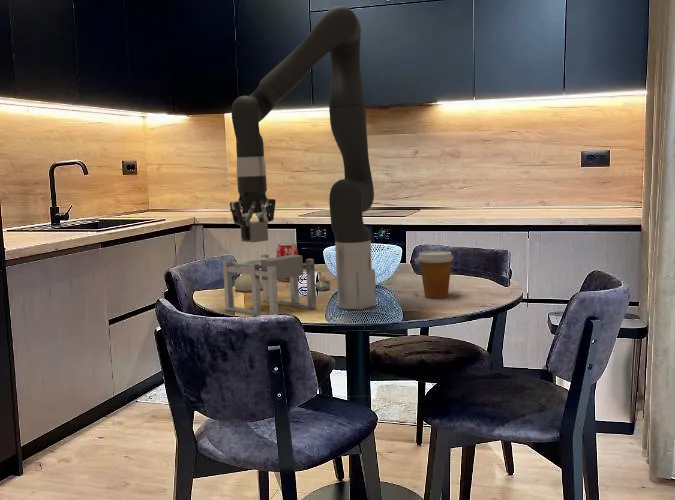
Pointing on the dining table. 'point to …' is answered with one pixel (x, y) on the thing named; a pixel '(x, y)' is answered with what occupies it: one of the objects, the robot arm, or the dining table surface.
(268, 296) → the frame
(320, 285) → the figurine
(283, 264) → the trapdoor
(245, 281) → the sea urchin shell
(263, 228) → the basalt cube
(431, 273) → the disposable coffee cup
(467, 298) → the dining table surface
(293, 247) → the soda can
